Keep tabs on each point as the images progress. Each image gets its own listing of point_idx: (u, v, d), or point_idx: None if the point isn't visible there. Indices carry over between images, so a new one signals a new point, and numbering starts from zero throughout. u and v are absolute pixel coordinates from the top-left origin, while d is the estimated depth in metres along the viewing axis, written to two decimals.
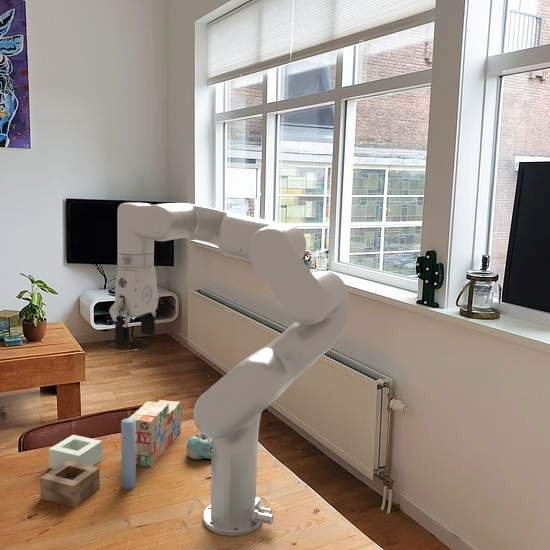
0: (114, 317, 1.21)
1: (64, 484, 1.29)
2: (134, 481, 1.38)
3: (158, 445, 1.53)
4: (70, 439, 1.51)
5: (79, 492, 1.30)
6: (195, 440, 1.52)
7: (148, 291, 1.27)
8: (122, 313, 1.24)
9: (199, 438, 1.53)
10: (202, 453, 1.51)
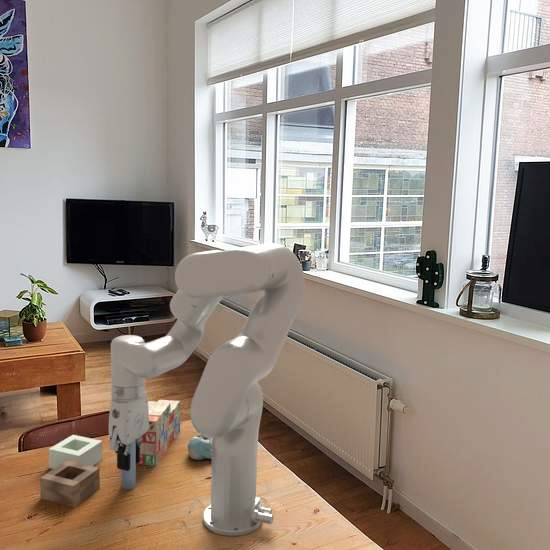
0: (116, 450, 1.32)
1: (64, 484, 1.29)
2: (134, 481, 1.38)
3: (162, 444, 1.53)
4: (70, 439, 1.51)
5: (79, 492, 1.30)
6: (197, 440, 1.52)
7: (140, 417, 1.36)
8: (120, 442, 1.34)
9: (201, 438, 1.53)
10: (204, 453, 1.51)
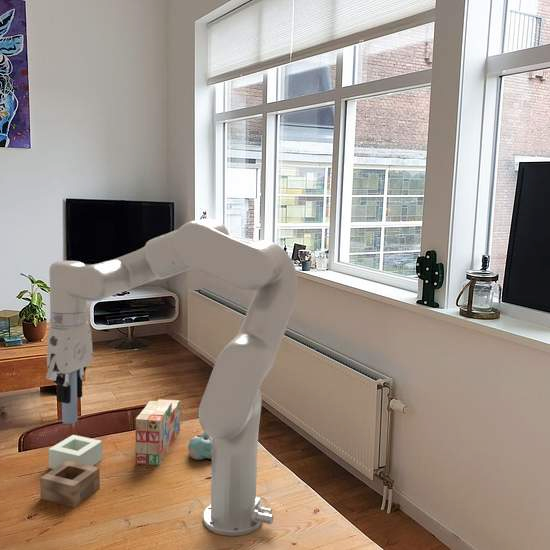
0: (54, 380, 1.26)
1: (64, 484, 1.29)
2: (75, 415, 1.32)
3: (165, 443, 1.54)
4: (70, 439, 1.51)
5: (79, 492, 1.30)
6: (197, 440, 1.52)
7: (81, 347, 1.29)
8: (59, 373, 1.28)
9: (201, 438, 1.53)
10: (204, 453, 1.51)
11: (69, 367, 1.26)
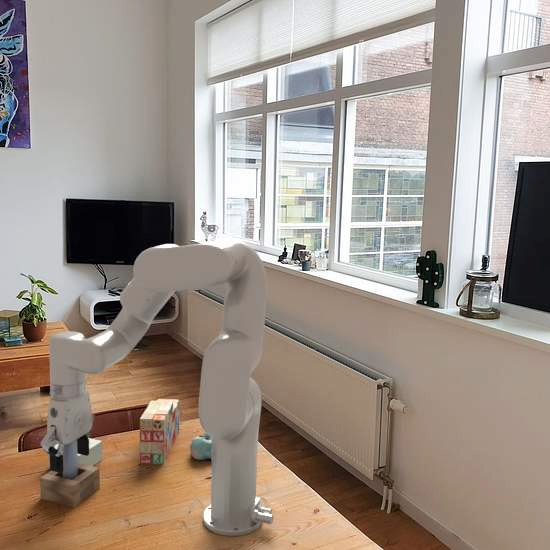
0: (46, 449, 1.26)
1: (64, 484, 1.29)
2: None
3: (168, 442, 1.54)
4: None
5: (79, 492, 1.30)
6: (199, 440, 1.52)
7: (81, 416, 1.32)
8: (55, 441, 1.29)
9: (203, 438, 1.53)
10: (207, 454, 1.51)
11: (69, 437, 1.28)
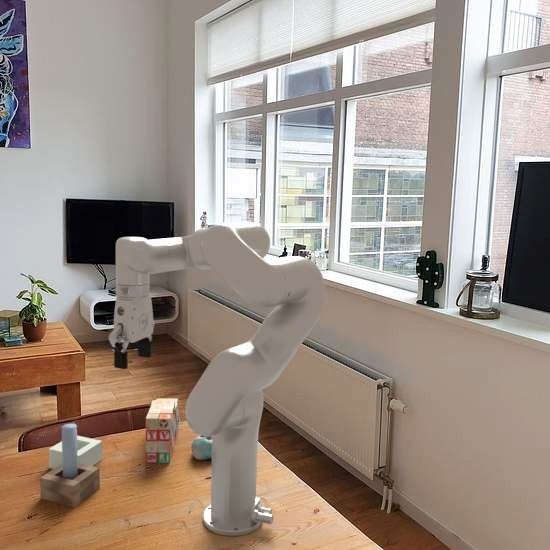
0: (113, 343, 1.31)
1: (64, 484, 1.29)
2: None
3: (172, 441, 1.55)
4: None
5: (79, 492, 1.30)
6: (201, 440, 1.52)
7: (144, 318, 1.38)
8: (120, 339, 1.35)
9: (204, 438, 1.53)
10: (208, 453, 1.51)
11: (135, 336, 1.35)
